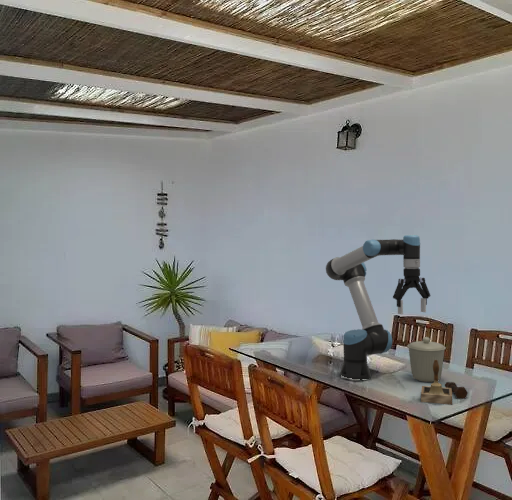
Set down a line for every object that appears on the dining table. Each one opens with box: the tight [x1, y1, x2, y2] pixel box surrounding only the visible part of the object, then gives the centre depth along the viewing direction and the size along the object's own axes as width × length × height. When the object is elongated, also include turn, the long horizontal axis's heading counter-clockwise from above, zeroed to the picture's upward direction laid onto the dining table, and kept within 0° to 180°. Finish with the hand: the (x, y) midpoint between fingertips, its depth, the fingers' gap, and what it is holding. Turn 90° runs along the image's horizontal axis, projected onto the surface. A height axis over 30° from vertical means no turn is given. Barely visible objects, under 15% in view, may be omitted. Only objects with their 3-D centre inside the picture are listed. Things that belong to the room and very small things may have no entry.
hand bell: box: [428, 360, 445, 395], centre depth 227 cm, size 8×8×16 cm
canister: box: [406, 336, 447, 383], centre depth 258 cm, size 18×18×21 cm
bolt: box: [444, 381, 468, 400], centre depth 235 cm, size 6×5×15 cm
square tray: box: [420, 385, 453, 405], centre depth 228 cm, size 12×12×4 cm
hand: (411, 313), depth 247 cm, fingers open, 13 cm apart
